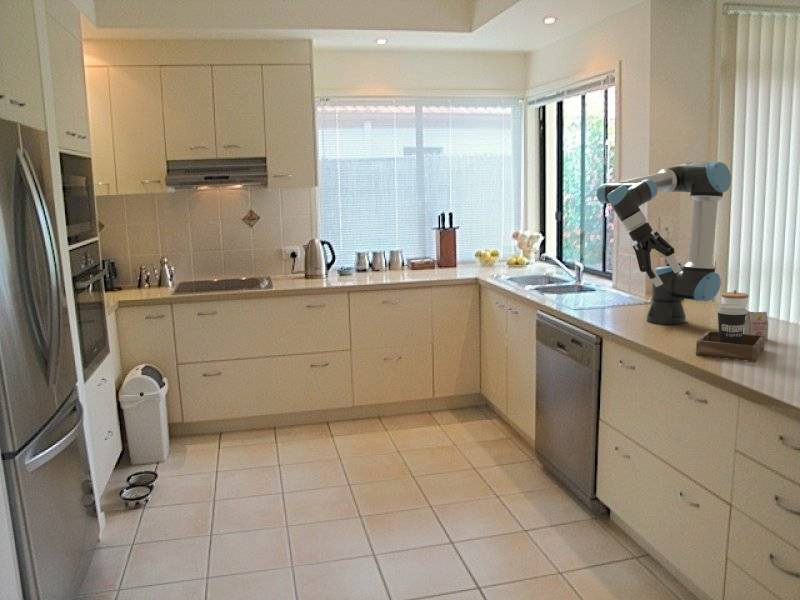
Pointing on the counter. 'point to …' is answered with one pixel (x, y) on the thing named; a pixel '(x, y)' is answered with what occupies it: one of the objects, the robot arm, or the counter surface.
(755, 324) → the small food carton
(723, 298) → the lidded jar
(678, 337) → the counter surface
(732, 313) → the coffee cup
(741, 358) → the walnut crate
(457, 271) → the counter surface
